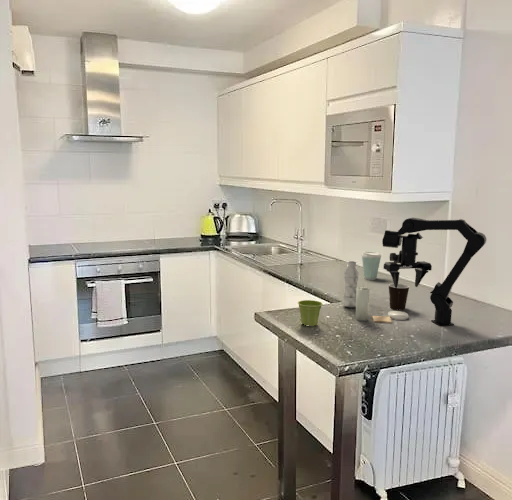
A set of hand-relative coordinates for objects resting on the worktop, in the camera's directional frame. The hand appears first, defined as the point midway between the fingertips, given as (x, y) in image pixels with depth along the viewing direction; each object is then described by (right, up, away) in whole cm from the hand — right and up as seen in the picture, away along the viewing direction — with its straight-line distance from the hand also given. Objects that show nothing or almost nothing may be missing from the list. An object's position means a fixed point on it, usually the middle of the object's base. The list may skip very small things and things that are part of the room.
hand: (406, 287), depth 210 cm
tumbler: (-18, -13, -1) cm, 22 cm away
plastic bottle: (-20, -10, +17) cm, 28 cm away
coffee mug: (0, -11, +15) cm, 19 cm away
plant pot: (-40, -14, -10) cm, 44 cm away
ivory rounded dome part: (-3, -13, +2) cm, 13 cm away
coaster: (-10, -13, -2) cm, 17 cm away
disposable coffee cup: (+2, -1, +76) cm, 77 cm away
